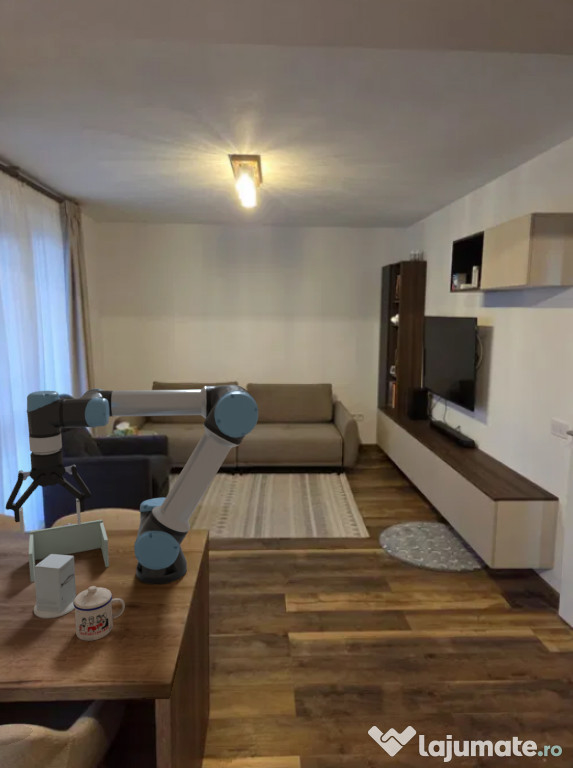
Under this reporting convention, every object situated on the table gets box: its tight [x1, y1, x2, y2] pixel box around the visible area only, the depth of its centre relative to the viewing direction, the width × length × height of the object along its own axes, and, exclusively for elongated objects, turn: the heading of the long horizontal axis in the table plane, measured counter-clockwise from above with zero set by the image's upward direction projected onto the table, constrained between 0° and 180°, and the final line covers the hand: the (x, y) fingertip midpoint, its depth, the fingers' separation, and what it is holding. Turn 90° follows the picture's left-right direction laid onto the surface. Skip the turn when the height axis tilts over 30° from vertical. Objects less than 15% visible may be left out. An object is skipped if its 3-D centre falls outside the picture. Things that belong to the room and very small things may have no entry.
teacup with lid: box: [73, 585, 126, 642], centre depth 126 cm, size 12×9×12 cm
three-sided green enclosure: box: [28, 519, 110, 583], centre depth 158 cm, size 15×22×10 cm
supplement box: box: [34, 554, 77, 613], centre depth 135 cm, size 7×7×13 cm
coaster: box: [33, 600, 75, 619], centre depth 136 cm, size 11×11×1 cm
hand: (51, 528), depth 133 cm, fingers open, 13 cm apart
